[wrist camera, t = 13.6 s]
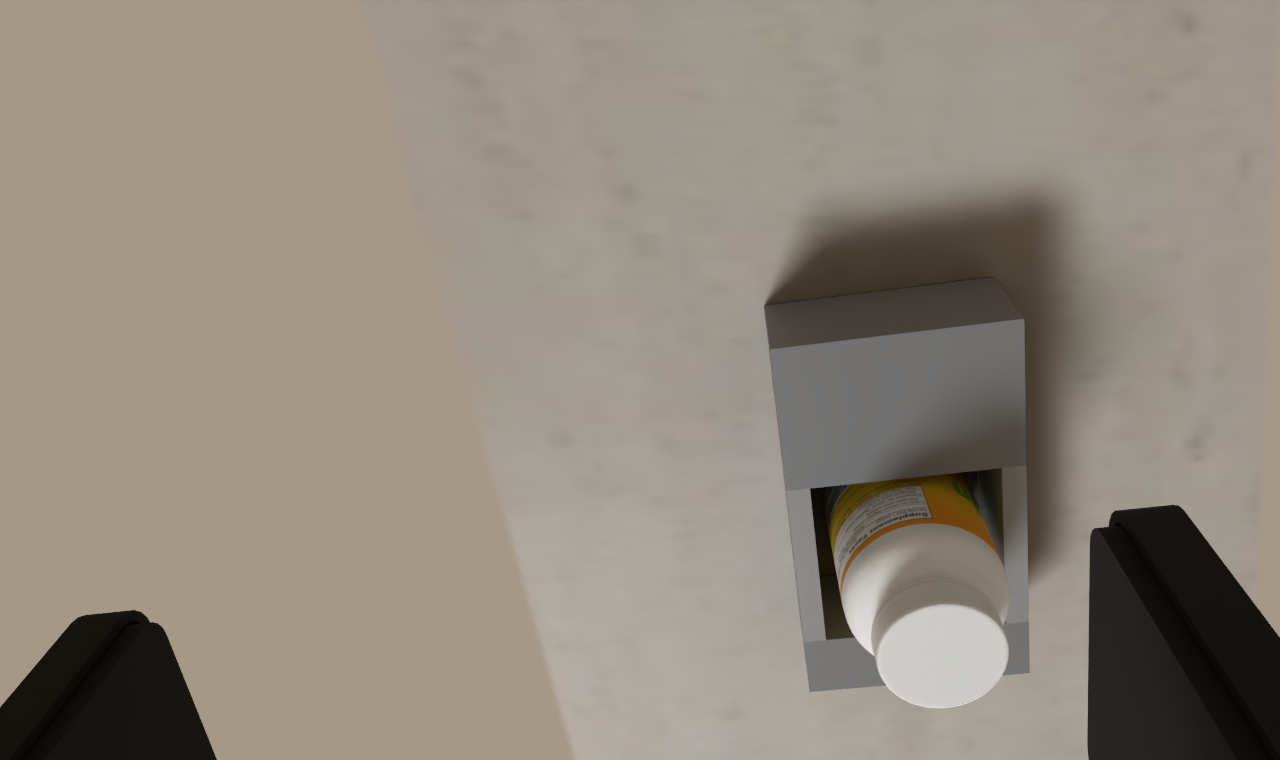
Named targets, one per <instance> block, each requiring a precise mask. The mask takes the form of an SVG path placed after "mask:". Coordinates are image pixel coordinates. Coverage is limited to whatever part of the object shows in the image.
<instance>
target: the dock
mask: <svg viewBox="0 0 1280 760" xmlns="http://www.w3.org/2000/svg"><path fill="white" fill-rule="evenodd" d="M764 309H765V318H766V327H767V335H768V344H769V352H770V361H771V370H772V378H773V387H774V395H775V404H776V413H777V421H778V430H779V438H780V447H781V456H782V464H783V473H784V481H785V490H786V499H787V507H788V516H789V524H790V533H791V542H792V550H793V559H794V567H795V576H796V585H797V593H798V602H799V610H800V619H801V627H802V635H803V643H804V651H805V658H806V666H807V674H808V682H809V689H810V692H814V691H825V690H837V689H848V688H860V687H872V686H883V685H886V684H885V683H884V681H883V680H882V678H881V676H880V674H879V671H878V668H877V664H876V660H875V656H873V655H872V654H871V653H869V652H868V651H867V650H866V649H865V648H864V647H863V646H862V645H861V644H860V643H859V642H858V640H857V639H856V638H855V636H854V635H853V633H852V631H851V629H850V628H849V625H848V623H847V620H846V617H845V613H844V609H843V606H842V601H841V596H840V590H839V584H838V579H837V575H830V576H820V577H819V569H818V559H817V550H816V540H815V531H814V521H813V512H812V503H811V493H810V489H811V488H820V487H829V486H839V485H848V484H858V483H867V482H876V481H886V480H895V479H905V478H914V477H923V476H933V475H942V474H951V473H961V472H970V471H977V472H978V501H979V510H980V512H981V514H982V517H983V518H984V521H985V523H986V526H987V528H988V531H989V533H990V535H991V538H992V540H993V542H994V545H995V547H996V550H997V552H998V554H999V557H1000V559H1001V561H1002V563H1003V566H1004V569H1005V572H1006V575H1007V578H1008V582H1009V588H1010V606H1009V611H1008V614H1007V617H1006V620H1005V623H1004V625H1003V627H1004V630H1005V633H1006V636H1007V639H1008V644H1009V658H1008V663H1007V666H1006V669H1005V671H1004V673H1003V675H1011V674H1022V673H1030V669H1029V600H1028V531H1027V462H1026V393H1025V325H1024V317H1023V316H1022V315H1021V313H1020V312H1019V310H1018V309H1017V308H1016V306H1015V305H1014V304H1013V302H1012V301H1011V299H1010V298H1009V297H1008V295H1007V294H1006V292H1005V291H1004V290H1003V288H1002V287H1001V285H1000V284H999V283H998V281H997V280H996V278H995V277H988V278H980V279H972V280H964V281H956V282H948V283H940V284H932V285H924V286H916V287H908V288H900V289H892V290H884V291H876V292H868V293H860V294H852V295H844V296H836V297H828V298H820V299H812V300H804V301H796V302H789V303H781V304H773V305H765V306H764Z"/></svg>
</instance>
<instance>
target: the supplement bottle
mask: <svg viewBox="0 0 1280 760" xmlns="http://www.w3.org/2000/svg"><path fill="white" fill-rule="evenodd" d="M825 513H826V520H827V526H828V532H829V537H830V542H831V547H832V552H833V558H834V563H835V568H836V574H837V579H838V584H839V590H840V596H841V601H842V606H843V609H844V613H845V617H846V620H847V623H848V625H849V628H850V629H851V631H852V633H853V635H854V636H855V638H856V639H857V640H858V642H859V643H860V644H861V645H862V646H863V647H864V648H865V649H866V650H867V651H868V652H869V653H871V654H872V655H873V656H875V660H876V664H877V668H878V671H879V674H880V676H881V678H882V680H883V681H884V683H885V684H886V686H887V687H888V688H889V689H890V690H891V691H892V692H893V693H894V694H896V695H897V696H898V697H900V698H902V699H903V700H905V701H907V702H909V703H912V704H915V705H918V706H922V707H928V708H949V707H955V706H960V705H963V704H966V703H969V702H971V701H974V700H976V699H978V698H980V697H981V696H983V695H984V694H986V693H987V692H988V691H989V690H990V689H991V688H992V687H994V686H995V685H996V683H997V682H998V681H999V680H1000V678H1001V676H1002V675H1003V673H1004V671H1005V669H1006V666H1007V663H1008V658H1009V644H1008V639H1007V636H1006V633H1005V630H1004V627H1003V625H1004V623H1005V620H1006V617H1007V614H1008V611H1009V606H1010V588H1009V582H1008V578H1007V575H1006V572H1005V569H1004V566H1003V563H1002V561H1001V559H1000V557H999V554H998V552H997V550H996V547H995V545H994V542H993V540H992V538H991V535H990V533H989V531H988V528H987V526H986V523H985V521H984V518H983V517H982V514H981V512H980V510H979V507H978V505H977V503H976V500H975V498H974V496H973V493H972V491H971V489H970V486H969V484H968V482H967V480H966V477H965V475H964V473H963V472H961V473H951V474H942V475H933V476H923V477H914V478H905V479H895V480H886V481H876V482H867V483H858V484H848V485H839V486H829V487H827V489H826V494H825Z"/></svg>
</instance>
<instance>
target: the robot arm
mask: <svg viewBox="0 0 1280 760" xmlns="http://www.w3.org/2000/svg"><path fill="white" fill-rule="evenodd" d="M1088 756H1089V760H1280V637H1279V636H1278V635H1277V633H1276V632H1275V631H1274V629H1273V628H1272V627H1271V625H1270V624H1269V623H1268V621H1267V620H1266V619H1265V617H1264V616H1263V615H1262V613H1261V612H1260V611H1259V609H1258V608H1257V607H1256V606H1255V604H1254V603H1253V602H1252V600H1251V599H1250V598H1249V596H1248V595H1247V594H1246V592H1245V591H1244V590H1243V588H1242V587H1241V586H1240V584H1239V583H1238V582H1237V580H1236V579H1235V578H1234V576H1233V575H1232V574H1231V572H1230V571H1229V570H1228V568H1227V567H1226V566H1225V564H1224V563H1223V562H1222V560H1221V559H1220V558H1219V556H1218V555H1217V554H1216V552H1215V551H1214V550H1213V548H1212V547H1211V546H1210V544H1209V543H1208V542H1207V540H1206V539H1205V538H1204V536H1203V535H1202V534H1201V532H1200V531H1199V530H1198V528H1197V527H1196V526H1195V524H1194V523H1193V522H1192V520H1191V519H1190V518H1189V516H1188V515H1187V514H1186V512H1185V511H1184V510H1183V509H1182V508H1181V507H1180V506H1177V505H1168V506H1158V507H1149V508H1139V509H1129V510H1119V511H1114V512H1113V513H1112V515H1111V518H1110V521H1109V527H1104V528H1095V529H1094V530H1093V531H1092V533H1091V538H1090V588H1089V669H1088ZM0 760H217V759H216V757H215V754H214V752H213V750H212V747H211V744H210V742H209V739H208V737H207V734H206V732H205V729H204V727H203V724H202V722H201V719H200V717H199V714H198V712H197V709H196V707H195V704H194V702H193V699H192V697H191V695H190V692H189V689H188V687H187V685H186V682H185V680H184V677H183V675H182V672H181V670H180V667H179V665H178V662H177V660H176V657H175V655H174V652H173V650H172V647H171V645H170V642H169V640H168V637H167V635H166V633H165V631H164V629H163V628H162V627H161V626H160V625H159V624H157V623H153V622H152V623H150V622H149V620H148V618H147V617H146V616H145V615H144V614H142V613H141V612H139V611H135V610H131V611H122V612H112V613H103V614H92V615H85V616H81V617H78V618H77V619H76V620H75V621H73V622H72V623H71V624H70V625H69V627H68V628H67V629H66V630H65V631H64V633H63V634H62V635H61V636H60V637H59V638H58V640H57V641H56V642H55V643H54V644H53V646H52V647H51V648H50V649H49V650H48V651H47V653H46V654H45V655H44V656H43V658H42V659H41V660H40V661H39V662H38V663H37V665H36V666H35V667H34V668H33V669H32V670H31V672H30V673H29V674H28V675H27V676H26V678H25V679H24V680H23V681H22V682H21V683H20V685H19V686H18V687H17V688H16V689H15V691H14V692H13V693H12V694H11V695H10V697H9V698H8V699H7V700H6V702H4V704H3V705H2V706H1V707H0Z"/></svg>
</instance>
